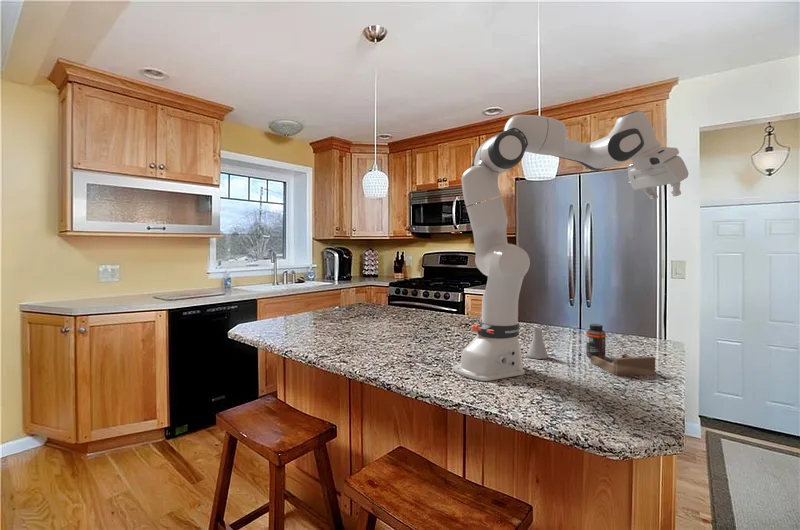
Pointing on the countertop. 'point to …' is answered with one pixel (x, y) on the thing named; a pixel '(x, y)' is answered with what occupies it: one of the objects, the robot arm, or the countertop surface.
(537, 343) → the flask
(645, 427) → the countertop surface
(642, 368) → the walnut bay
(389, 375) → the countertop surface
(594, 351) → the supplement bottle
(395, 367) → the countertop surface
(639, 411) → the countertop surface
